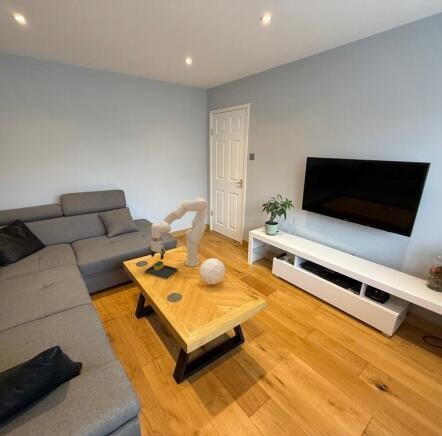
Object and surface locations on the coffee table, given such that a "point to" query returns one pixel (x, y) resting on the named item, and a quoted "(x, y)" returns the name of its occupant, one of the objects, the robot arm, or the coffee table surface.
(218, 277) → the geometric sphere
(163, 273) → the tray
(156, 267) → the sponge
